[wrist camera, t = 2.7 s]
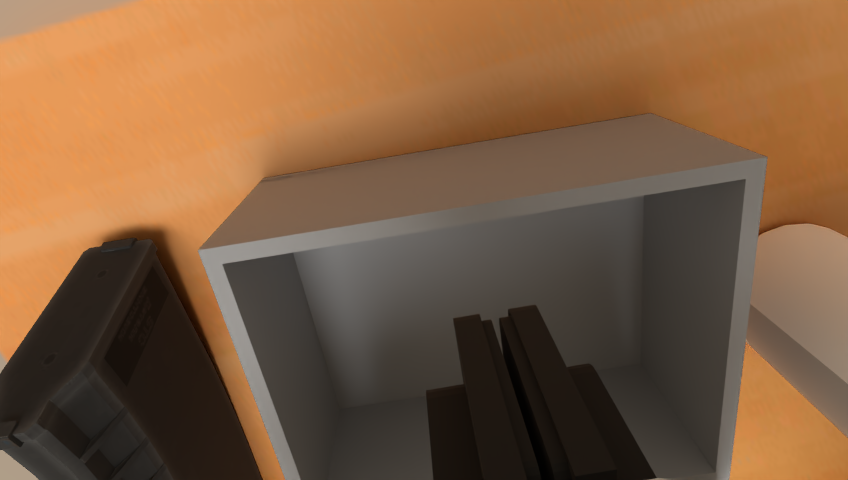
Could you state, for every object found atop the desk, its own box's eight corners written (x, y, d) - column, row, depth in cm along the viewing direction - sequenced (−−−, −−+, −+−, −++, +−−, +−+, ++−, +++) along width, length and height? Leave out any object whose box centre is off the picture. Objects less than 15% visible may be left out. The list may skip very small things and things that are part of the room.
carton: (650, 113, 23) (767, 156, 15) (645, 361, 28) (729, 480, 21) (263, 178, 23) (197, 250, 16) (333, 408, 29) (308, 540, 22)
